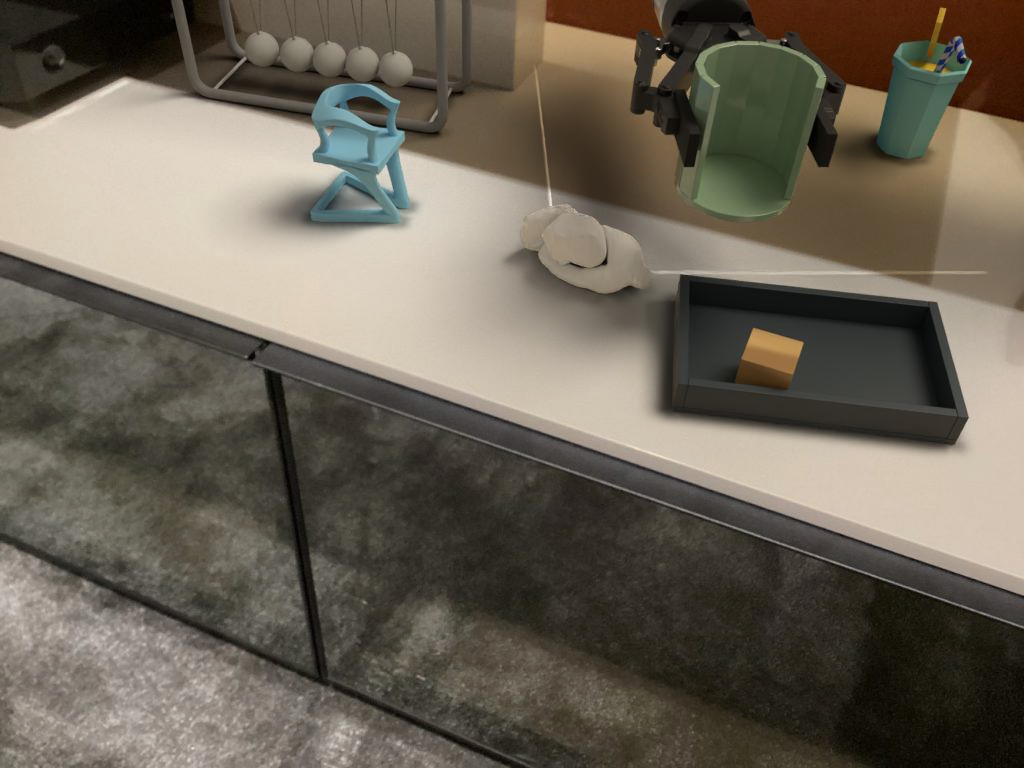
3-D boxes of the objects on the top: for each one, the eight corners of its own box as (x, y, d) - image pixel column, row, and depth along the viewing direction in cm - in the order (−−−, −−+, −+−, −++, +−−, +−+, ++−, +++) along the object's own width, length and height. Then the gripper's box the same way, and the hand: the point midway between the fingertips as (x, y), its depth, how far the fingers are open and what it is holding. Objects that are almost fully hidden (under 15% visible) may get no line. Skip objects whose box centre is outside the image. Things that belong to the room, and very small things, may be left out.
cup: (951, 193, 99) (1009, 54, 88) (874, 186, 99) (922, 47, 88) (925, 124, 108) (974, -8, 98) (856, 118, 109) (897, -14, 98)
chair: (390, 237, 90) (381, 122, 82) (309, 220, 92) (292, 106, 83) (419, 194, 96) (414, 81, 87) (342, 178, 97) (330, 66, 89)
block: (793, 374, 72) (804, 342, 75) (740, 358, 73) (753, 327, 76) (781, 411, 75) (791, 378, 78) (730, 395, 76) (743, 364, 79)
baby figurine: (662, 303, 85) (631, 262, 78) (538, 317, 90) (498, 280, 83) (664, 216, 88) (634, 169, 81) (543, 234, 93) (505, 191, 86)
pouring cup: (666, 156, 79) (686, 39, 72) (776, 157, 80) (806, 41, 73) (685, 222, 73) (709, 101, 66) (804, 223, 73) (841, 103, 66)
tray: (925, 329, 83) (937, 301, 81) (954, 445, 74) (969, 417, 71) (674, 301, 85) (680, 273, 83) (671, 411, 75) (677, 383, 73)
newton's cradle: (190, 96, 108) (153, -68, 96) (231, 55, 115) (202, -103, 103) (446, 137, 103) (443, -30, 91) (473, 92, 111) (473, -69, 98)
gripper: (813, 56, 88) (893, 195, 72) (576, 55, 87) (603, 195, 71) (835, -26, 83) (926, 103, 67) (582, -29, 82) (614, 102, 66)
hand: (760, 150), depth 69 cm, fingers closed on pouring cup, 9 cm apart
